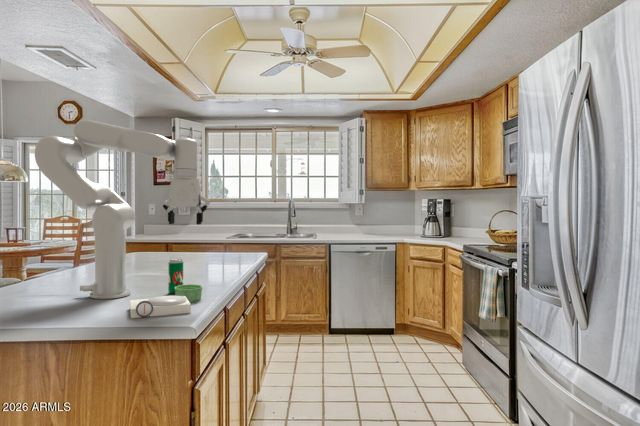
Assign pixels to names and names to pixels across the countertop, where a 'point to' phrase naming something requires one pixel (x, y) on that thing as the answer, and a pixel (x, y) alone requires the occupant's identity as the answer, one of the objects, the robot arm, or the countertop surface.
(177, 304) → the scale
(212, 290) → the countertop surface
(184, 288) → the ramekin
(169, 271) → the soda can
